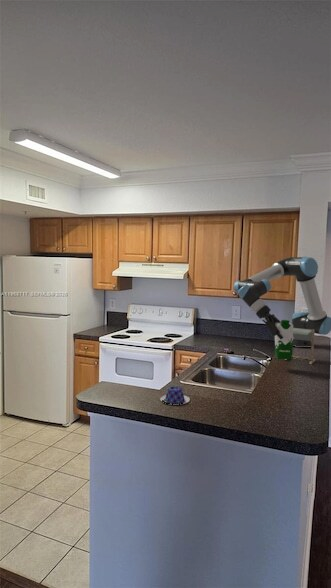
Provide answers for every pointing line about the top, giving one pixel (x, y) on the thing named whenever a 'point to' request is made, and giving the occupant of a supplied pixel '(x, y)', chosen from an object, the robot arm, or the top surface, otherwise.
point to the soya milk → (280, 348)
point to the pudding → (175, 396)
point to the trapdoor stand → (311, 350)
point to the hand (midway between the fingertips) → (289, 341)
